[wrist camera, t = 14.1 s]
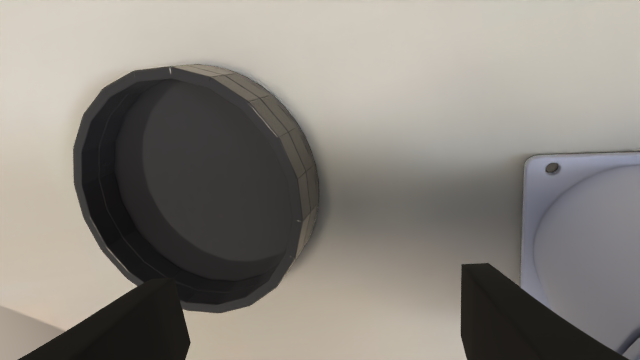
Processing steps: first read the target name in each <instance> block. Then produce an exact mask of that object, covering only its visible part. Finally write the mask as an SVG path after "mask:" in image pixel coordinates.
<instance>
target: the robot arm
mask: <svg viewBox="0 0 640 360" xmlns="http://www.w3.org/2000/svg"><path fill="white" fill-rule="evenodd" d="M553 162H554V163H558V168H557V170H556V171H555V172H551V173H550V172H546V167H547V165H548V164H550V163H553ZM461 338H462V342H463V345H464V349H465V353H466V357H467V360H640V152H621V153H589V154H558V155H536V156H532V157H531V158H529V159H528V160H527V161H526V162H525V165H524V182H523V211H522V241H521V270H520V287H519V286H518V285H517V284H515V283H514V282H513V281H511V280H510V279H509V278H507V277H506V276H505V275H503V274H502V273H501V272H500V271H498V270H497V269H496V268H494V267H493V266H491V265H490V264H489V263H483V264H462V278H461ZM190 343H191V342H190V338H189V334H188V330H187V326H186V322H185V318H184V314H183V310H182V307H181V303H180V299H179V295H178V291H177V287H176V283H175V279H174V278H160V279H151V280H149V281H147V282H145V283H143V284H141V285H139V286H138V287H136V288H134V289H133V290H131V291H129V292H128V293H126V294H124V295H123V296H121V297H120V298H118V299H117V300H115V301H113V302H112V303H110V304H109V305H107V306H106V307H104V308H102V309H101V310H99V311H98V312H96V313H95V314H93V315H91V316H90V317H88V318H87V319H85V320H84V321H82V322H80V323H79V324H77V325H76V326H74V327H72V328H71V329H69V330H67V331H66V332H64V333H63V334H61V335H59V336H57V337H56V338H54V339H52V340H51V341H49V342H48V343H46V344H44V345H43V346H41V347H39V348H37V349H36V350H34V351H32V352H31V353H29V354H27V355H25V356H24V357H22V358H20V359H18V360H185V358H186V355H187V352H188V349H189V346H190Z"/></svg>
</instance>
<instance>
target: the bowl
mask: <svg viewBox="0 0 640 360" xmlns="http://www.w3.org/2000/svg"><path fill="white" fill-rule="evenodd" d="M73 164H74V183H75V184H74V186H75V190H76V193H77V197H78V200H79V204H80V207H81V211H82V214H83V218H84V220H85V222H86V224H87V225H88V227H89V229H90V231H91V232H92V234H93V236H94V238H95V240H96V241H97V243H98V245H99V247H100V249H101V250H102V252H103V253H104V254H105V255H106V256H107V257H108V258H109V259H110V261H111V262H112V263H113V264H114V265H115V266H116V267H117V268H118V269H119V271H120V272H121V273H122V274H123V275H124V276H125V277H126V278H127V279H128V280H130V281H131V282H132V283H134V284H135V285H137V286H139V285H141V284H143V283H145V282H147V281H149V280H151V279H160V278H174V279H175V283H176V287H177V291H178V295H179V299H180V303H181V307H182V309H184V310H188V311H199V312H210V313H223V312H227V311H231V310H235V309H239V308H243V307H247V306H250V305H252V304H254V303H255V302H256V301H258V300H259V299H261V298H262V297H264V296H265V295H266V294H268V293H269V292H271V291H272V290H274V289H275V288H276V287H277V286H278V285H279V283H280V282H281V281H282V279H283V278H284V276H285V275H286V273H287V272H288V271H289V269H290V268H291V266H292V265H293V263H294V262H295V260H296V259H297V257H298V256H299V254H300V252H301V251H302V250H303V248H304V246H305V245H306V243H307V242H308V240H309V239H310V236H311V233H312V230H313V228H314V225H315V221H316V217H317V212H318V203H319V183H318V176H317V170H316V165H315V162H314V159H313V155H312V152H311V149H310V147H309V145H308V143H307V140H306V138H305V136H304V134H303V132H302V131H301V129H300V127H299V126H298V124H297V122H296V121H295V119H294V118H293V117H292V116H291V114H290V113H289V112H288V110H287V109H286V108H285V107H284V106H283V105H282V104H281V103H280V102H279V101H278V100H277V99H276V98H275V97H274V96H273V95H272V94H271V93H269V92H268V91H267V90H266V89H264V88H263V87H262V86H260V85H259V84H257V83H255V82H254V81H252V80H250V79H249V78H247V77H245V76H243V75H240V74H238V73H236V72H233V71H231V70H227V69H223V68H219V67H215V66H206V65H201V64H194V65H181V66H169V67H161V68H152V69H143V70H135V71H132V72H130V73H129V74H127V75H125V76H123V77H122V78H120V79H118V80H116V81H115V82H113V83H111V84H109V85H108V86H106V87H104V88H103V89H102V91H101V92H100V93H99V94H98V96H97V97H96V98H95V100H94V101H93V102H92V104H91V105H90V106H89V108H88V109H87V110H86V112H85V113H84V114H83V117H82V120H81V123H80V127H79V130H78V134H77V137H76V140H75V144H74V149H73Z"/></svg>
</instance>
